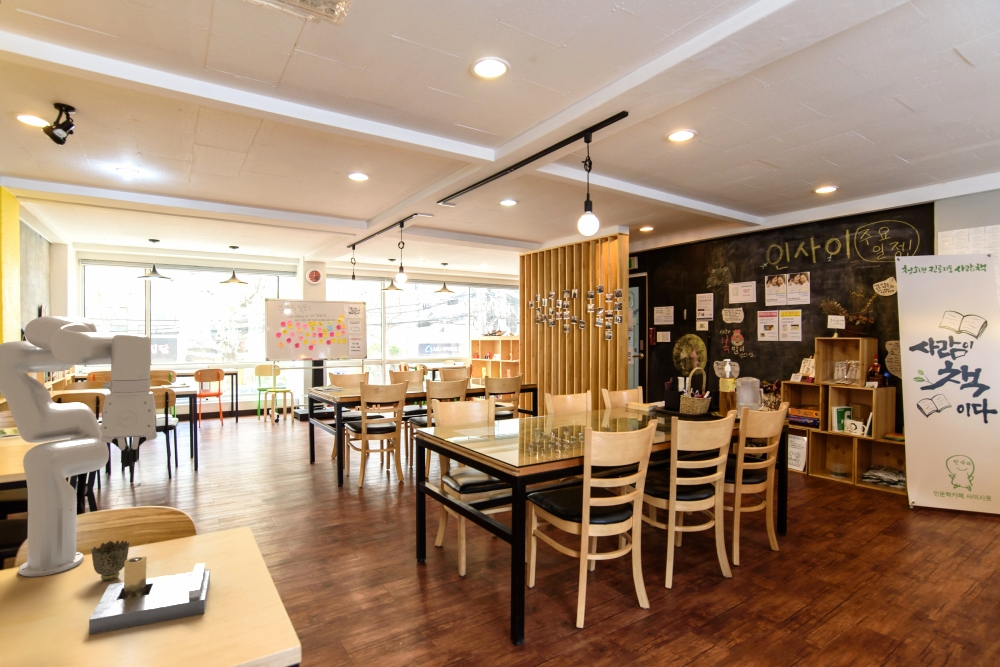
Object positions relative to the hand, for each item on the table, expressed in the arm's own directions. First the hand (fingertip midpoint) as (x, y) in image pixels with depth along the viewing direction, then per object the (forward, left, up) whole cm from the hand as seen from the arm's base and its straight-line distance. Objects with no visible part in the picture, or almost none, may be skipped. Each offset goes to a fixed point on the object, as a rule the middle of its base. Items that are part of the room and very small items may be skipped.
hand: (129, 465), depth 123 cm
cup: (-8, -5, -29) cm, 31 cm away
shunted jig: (+11, +7, -29) cm, 32 cm away
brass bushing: (+9, +3, -29) cm, 30 cm away
